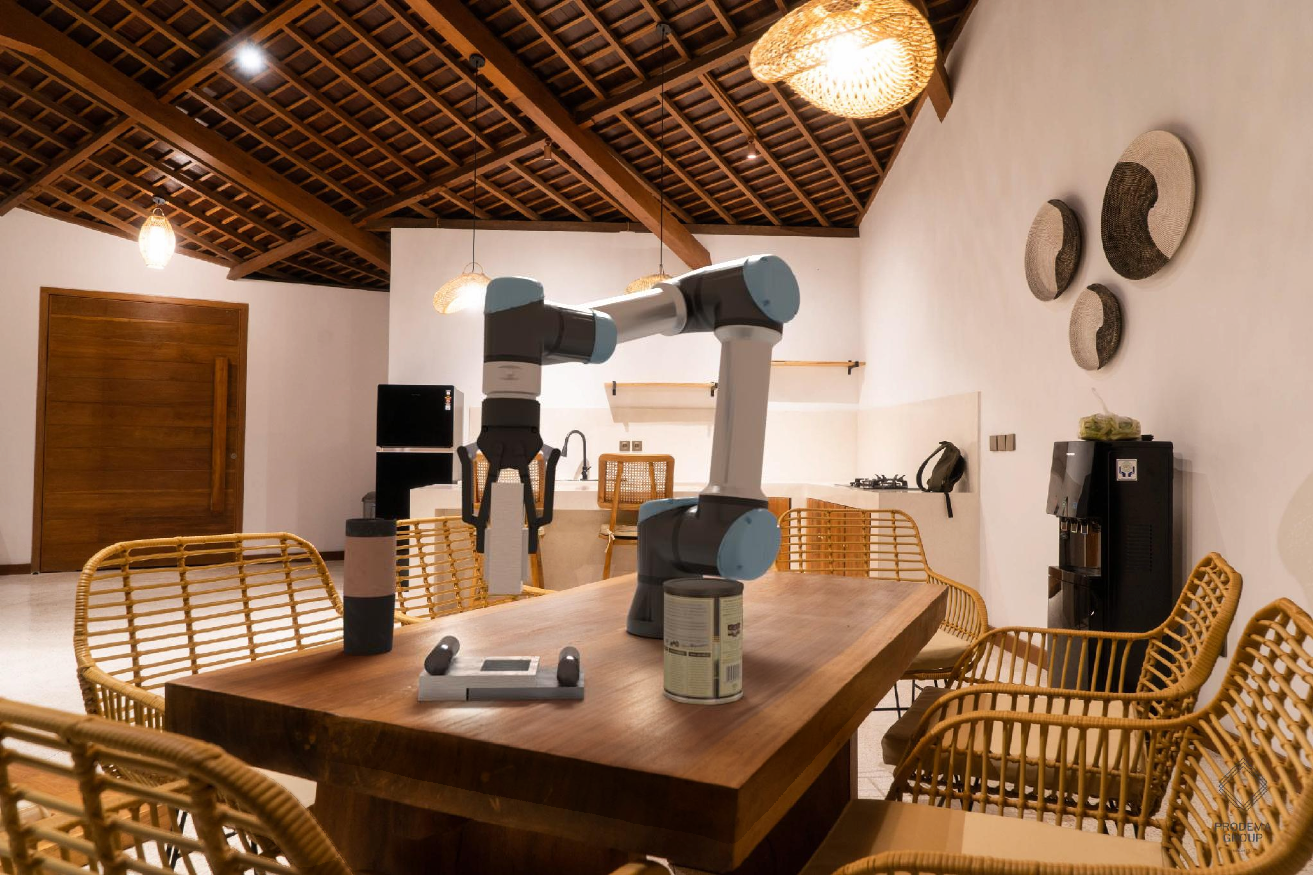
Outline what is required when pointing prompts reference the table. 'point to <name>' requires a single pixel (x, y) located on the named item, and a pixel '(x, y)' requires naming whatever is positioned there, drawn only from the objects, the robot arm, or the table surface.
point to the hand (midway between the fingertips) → (506, 579)
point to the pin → (506, 538)
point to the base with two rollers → (498, 676)
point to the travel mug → (369, 585)
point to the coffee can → (703, 640)
